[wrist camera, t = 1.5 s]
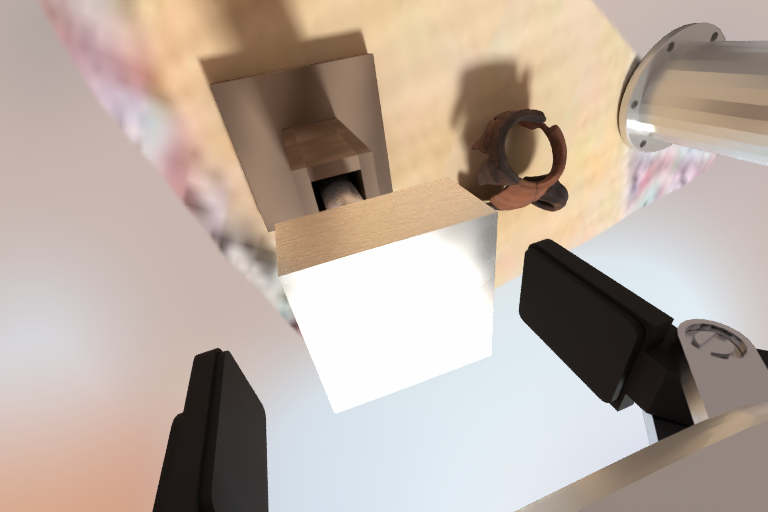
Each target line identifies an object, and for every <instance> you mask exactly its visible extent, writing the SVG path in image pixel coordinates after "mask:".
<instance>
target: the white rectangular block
mask: <svg viewBox="0 0 768 512" xmlns="http://www.w3.org/2000/svg"><path fill="white" fill-rule="evenodd" d="M315 182H316V184H317V187H318V189H319V192H320V194H321V197H322V199H323V202H324V205H325V207H326V210H325V211H322V212H318V213H314V214H310V215H307V216H303V217H299V218H296V219H292V220H288V221H284V222H281V223H277V224H275V234H276V249H277V263H278V277H279V279H280V282H281V284H282V287H283V289H284V291H285V294H286V296H287V299H288V301H289V303H290V306H291V308H292V311H293V313H294V316H295V318H296V320H297V323H298V325H299V328H300V330H301V332H302V335H303V337H304V340H305V342H306V345H307V347H308V349H309V352H310V354H311V356H312V359H313V361H314V364H315V366H316V368H317V371H318V374H319V376H320V378H321V381H322V383H323V385H324V388H325V390H326V393H327V395H328V398H329V400H330V403H331V405H332V407H333V410H334V412H335V413H337V412H340V411H343V410H345V409H348V408H351V407H353V406H356V405H359V404H361V403H364V402H366V401H369V400H372V399H375V398H377V397H380V396H383V395H385V394H388V393H391V392H394V391H396V390H399V389H401V388H404V387H407V386H410V385H412V384H415V383H418V382H420V381H423V380H425V379H428V378H431V377H434V376H436V375H439V374H442V373H444V372H447V371H450V370H452V369H455V368H458V367H460V366H463V365H466V364H468V363H471V362H474V361H476V360H479V359H482V358H485V357H487V356H490V355H491V341H492V322H493V301H494V280H495V260H496V239H497V218H498V212H497V211H496V210H494V209H493V208H491V207H490V206H488V205H487V204H486V203H484V202H483V201H481V200H480V199H478V198H477V197H476V196H474V195H473V194H471V193H470V192H468V191H467V190H466V189H464V188H463V187H461V186H460V185H458V184H457V183H455V182H454V181H453V180H451V179H450V178H444V179H441V180H437V181H433V182H430V183H426V184H422V185H418V186H415V187H411V188H407V189H404V190H400V191H396V192H392V193H389V194H385V195H381V196H377V197H374V198H370V199H366V200H363V198H362V197H361V195H360V194H359V192H358V191H357V189H356V188H355V186H354V185H353V183H352V182H351V180H350V179H349V177H348V176H347V174H346V173H344V174H340V175H336V176H332V177H328V178H324V179H320V180H316V181H315Z"/></svg>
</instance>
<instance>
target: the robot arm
mask: <svg viewBox="0 0 768 512" xmlns="http://www.w3.org/2000/svg"><path fill="white" fill-rule="evenodd" d="M619 129H620V133H621V137H622V139H623V141H624V142H625V144H626V145H627V146H629V147H630V148H632V149H634V150H637V151H641V152H645V153H648V152H656V151H659V150H662V149H664V148H667V147H669V146H671V145H672V144H676V145H681V146H685V147H689V148H693V149H698V150H702V151H706V152H710V153H715V154H719V155H723V156H727V157H732V158H736V159H740V160H745V161H749V162H754V163H758V164H762V165H766V166H768V41H725V37H724V35H723V33H722V32H721V30H720V29H719V28H718V27H716V26H715V25H712V24H709V23H693V24H688V25H684V26H682V27H679V28H677V29H675V30H673V31H672V32H670V33H669V34H667V35H666V36H665V37H663V38H662V39H661V40H660V41H659V42H658V43H657V44H656V45H655V46H653V48H652V49H651V50H650V51H649V52H648V53H647V55H646V56H645V57H644V58H643V60H642V61H641V62H640V64H639V65H638V67H637V68H636V70H635V72H634V73H633V75H632V77H631V79H630V81H629V83H628V85H627V88H626V90H625V93H624V95H623V99H622V103H621V106H620V114H619ZM519 314H520V317H521V318H522V320H523V321H524V322H525V323H526V324H527V325H528V326H529V327H530V328H531V329H532V330H533V331H534V332H535V333H536V334H537V335H538V336H539V337H540V338H541V339H542V340H543V341H544V342H545V343H546V344H547V345H548V346H549V347H550V348H551V350H553V351H554V353H555V354H556V355H557V356H558V357H559V358H560V359H562V360H563V362H564V363H565V364H566V365H567V366H568V367H569V368H571V370H572V371H573V372H574V373H575V374H576V375H577V376H578V377H579V378H580V379H581V380H582V381H583V382H584V383H585V384H586V385H587V386H588V387H589V388H590V389H591V390H592V391H593V392H594V393H595V394H596V395H597V396H598V397H599V398H600V399H601V400H602V401H604V402H606V403H610V404H611V405H612V406H613V407H614V408H615V409H616V410H617V411H620V410H622V409H625V408H627V407H629V406H631V405H633V404H634V402H635V403H636V404H637V405H638V406H639V407H640V408H641V409H642V411H643V416H644V421H645V425H646V430H647V434H648V439H649V444H650V446H648V447H646V448H644V449H642V450H640V451H637V452H635V453H633V454H631V455H629V456H627V457H625V458H623V459H621V460H619V461H617V462H615V463H613V464H611V465H609V466H607V467H605V468H603V469H601V470H599V471H596V472H594V473H592V474H590V475H588V476H586V477H584V478H582V479H580V480H578V481H576V482H574V483H572V484H570V485H568V486H566V487H564V488H562V489H560V490H558V491H556V492H553V493H552V494H549V495H548V496H545V497H543V498H542V499H540V500H537V501H535V502H533V503H531V504H529V505H527V506H525V507H523V508H521V509H519V510H517V511H515V512H768V351H766V350H761V349H756V348H755V346H754V345H753V344H752V343H751V342H750V340H749V339H748V338H746V337H745V336H744V335H742V334H741V333H740V332H738V331H736V330H734V329H732V328H731V327H729V326H726V325H723V324H721V323H718V322H714V321H709V320H704V319H692V320H686V321H685V322H683V323H681V324H680V325H679V327H678V328H676V327H675V326H674V325H672V322H673V320H674V319H673V318H672V317H670V316H669V315H667V314H666V313H664V312H662V311H661V310H659V309H658V308H656V307H655V306H653V305H652V304H650V303H648V302H647V301H645V300H644V299H642V298H641V297H639V296H637V295H636V294H634V293H633V292H631V291H630V290H628V289H627V288H625V287H624V286H622V285H621V284H619V283H617V282H616V281H614V280H613V279H611V278H610V277H608V276H607V275H605V274H603V273H602V272H600V271H599V270H597V269H596V268H594V267H593V266H591V265H589V264H588V263H587V262H585V261H583V260H582V259H580V258H579V257H577V256H576V255H574V254H573V253H571V252H570V251H568V250H566V249H565V248H563V247H562V246H560V245H559V244H557V243H556V242H554V241H553V240H550V239H545V240H542V241H539V242H536V243H533V244H530V246H529V247H528V250H527V251H526V252H525V258H524V267H523V276H522V285H521V294H520V304H519ZM153 512H268V478H267V442H266V415H265V410H264V408H263V405H262V403H261V402H260V400H259V399H258V397H257V395H256V394H255V392H254V390H253V389H252V387H251V386H250V384H249V382H248V381H247V379H246V377H245V376H244V374H243V373H242V371H241V369H240V368H239V366H238V365H237V363H236V361H235V360H234V358H233V356H232V355H231V353H230V352H229V351H224V352H223V351H222V350H221V349H219V348H216V349H213V350H211V351H207V352H204V353H201V354H198V355H196V356H195V358H194V361H193V366H192V371H191V376H190V381H189V386H188V391H187V396H186V402H185V406H184V411H183V413H180V414H178V415H177V416H176V417H175V418H174V420H173V423H172V426H171V431H170V435H169V440H168V445H167V449H166V453H165V458H164V462H163V467H162V471H161V476H160V480H159V485H158V489H157V494H156V499H155V503H154V507H153Z"/></svg>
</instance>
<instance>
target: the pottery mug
mask: <svg viewBox="0 0 768 512" xmlns="http://www.w3.org/2000/svg"><path fill="white" fill-rule="evenodd" d="M545 121H546V117H545V115H544V113H543V112H541V111H538V110H530V109H525V110H520V111H507V112H504V113H502V114H499V115H497V116H496V117H495V118H494V121H491V122H490V123H489V124H488V126H487V128H486V130H485V132H484V134H483V135H482V137H481V138H480V139H479V140H478V141H477V142H476V143H475V144H474V145H473V147H472V149H473V150H479V151H481V152H483V153H486V154H488V155H489V156H490V157H489V158H488V159H486V160H485V161H484V163H483V164H482V167H481V170H480V172H479V173H478V175H477V181H478V184H479V185H480V186H482V185H486V184H492V185H507V186H506V187H505V188H504V189H503V190H502V191H500V192H499V193H496V194H494V195H493V196H492V197H491V198H490V202H489V203H486V204H487V205H488V206H490V207H491V208H493V209H494V210H512V209H517V208H522V207H525V206H527V205H529V204H530V203H531V204H533V205H535V206H537V207H539V208H541V209H544V210H547V211H557V210H560V209H562V208H563V207H564V206H565V205H566V202H567V200H568V192H567V189H566V188H565V187H564V186H563V185H562V184H561V183H560V182H559V181H558V179H559V178H560V176H561V175H562V173H563V171H564V169H565V165H566V160H567V159H566V158H567V148H566V143H565V139H564V136H563V134H562V131H561V129H560V128H559V127H558V126H557V125H554V126H551V127H550V128H549V127H548V126H546V124H545V123H543V122H545ZM517 122H519V123H520V124H521V125H522V126H524V127H526V128H528V129H531V130H534V129H536V128H541V129H542V130H543V131H544V133H545V134H546V136H547V137H548V139H549V142H550V145H551V147H552V153H553V165H552V169H551V171H550V173H548V174H546V175H541V176H534V177H524V178H523V179H522V178H520V177H519V176H518V175H517V174H516V173H515V172H514V171H513V170H512V169H511V167H510V165H509V163H508V160H507V157H506V154H505V141H506V137H507V134H508V132H509V130H510V128H511V127H512V126H513V125H514V124H515V123H517ZM471 194H472V193H471Z"/></svg>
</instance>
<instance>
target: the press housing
mask: <svg viewBox="0 0 768 512" xmlns="http://www.w3.org/2000/svg"><path fill="white" fill-rule="evenodd" d="M210 87H211V89H212V92H213V95H214V97H215V100H216V102H217V105H218V107H219V110H220V112H221V115H222V117H223V120H224V122H225V125H226V127H227V130H228V132H229V135H230V137H231V140H232V142H233V145H234V147H235V150H236V152H237V155H238V157H239V160H240V162H241V165H242V167H243V170H244V172H245V175H246V178H247V180H248V183H249V185H250V188H251V190H252V193H253V195H254V198H255V200H256V203H257V205H258V208H259V210H260V213H261V215H262V218H263V220H264V223H265V225H266V228H267V230H268V232H271V231H275V224H277V223H281V222H284V221H288V220H292V219H296V218H299V217H303V216H307V215H310V214H314V213H318V212H322V211H325V210H326V207H325V205H324V202H323V199H322V197H321V194H320V192H319V189H318V187H317V184H316V182H315V181H316V180H320V179H324V178H328V177H332V176H336V175H340V174H344V173H346V174H347V176H348V177H349V179H350V180H351V182H352V183H353V185H354V186H355V188H356V189H357V191H358V192H359V194H360V195H361V197H362V198H363V200H366V199H370V198H374V197H377V196H381V195H385V194H389V193H392V192H393V190H392V183H391V176H390V169H389V162H388V155H387V148H386V141H385V134H384V127H383V120H382V113H381V106H380V99H379V92H378V85H377V78H376V71H375V64H374V57H373V54H363V55H357V56H352V57H347V58H342V59H337V60H332V61H326V62H321V63H316V64H311V65H306V66H300V67H295V68H290V69H285V70H280V71H275V72H269V73H264V74H259V75H254V76H249V77H243V78H238V79H233V80H228V81H223V82H217V83H212V84H211V85H210Z"/></svg>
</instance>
